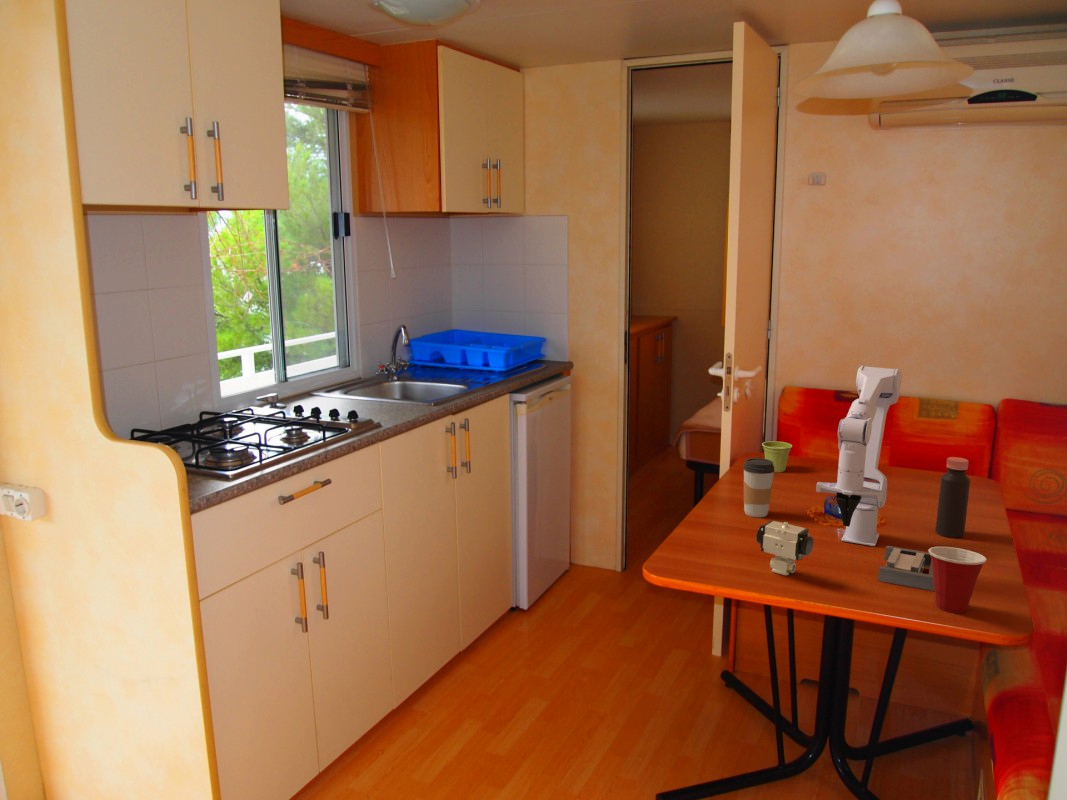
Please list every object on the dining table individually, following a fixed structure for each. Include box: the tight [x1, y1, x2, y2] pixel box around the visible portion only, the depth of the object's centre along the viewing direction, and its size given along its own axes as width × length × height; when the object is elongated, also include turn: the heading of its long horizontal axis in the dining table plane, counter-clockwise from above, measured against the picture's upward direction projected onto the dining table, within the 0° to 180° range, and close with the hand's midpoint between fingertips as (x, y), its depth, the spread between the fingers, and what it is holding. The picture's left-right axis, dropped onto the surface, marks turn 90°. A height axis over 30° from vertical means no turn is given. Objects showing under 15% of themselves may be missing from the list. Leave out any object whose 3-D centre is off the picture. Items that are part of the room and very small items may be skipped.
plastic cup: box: [927, 546, 987, 614], centre depth 176 cm, size 11×11×12 cm
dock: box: [877, 545, 935, 592], centre depth 194 cm, size 16×12×3 cm
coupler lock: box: [884, 548, 925, 573], centre depth 195 cm, size 10×7×4 cm
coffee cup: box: [743, 457, 775, 518], centre depth 234 cm, size 8×8×15 cm
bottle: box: [934, 456, 971, 539], centre depth 219 cm, size 7×7×20 cm
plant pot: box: [761, 440, 793, 473], centre depth 278 cm, size 9×9×9 cm
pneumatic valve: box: [756, 520, 814, 577], centre depth 193 cm, size 6×12×12 cm, turn 51°
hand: (846, 525), depth 200 cm, fingers closed
